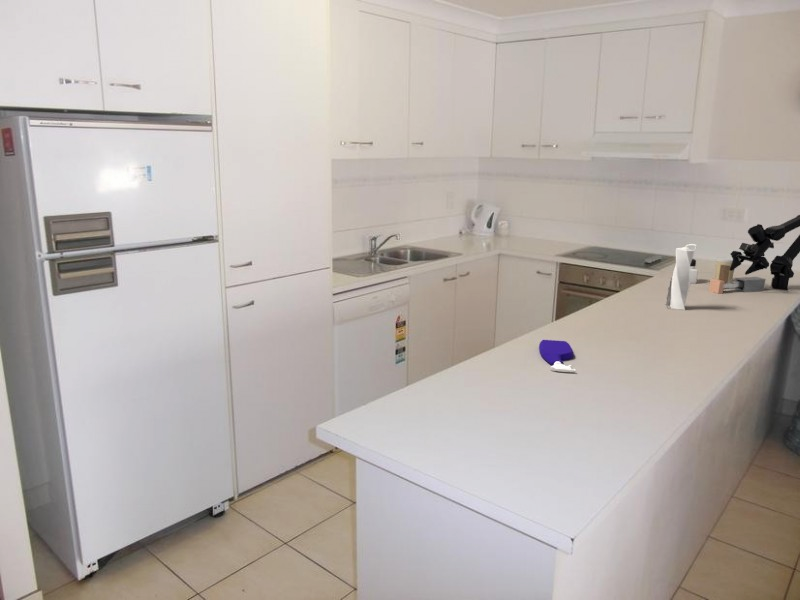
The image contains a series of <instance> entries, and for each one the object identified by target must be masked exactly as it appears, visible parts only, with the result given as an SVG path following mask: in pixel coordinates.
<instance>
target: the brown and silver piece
mask: <svg viewBox="0 0 800 600" xmlns="http://www.w3.org/2000/svg"><path fill="white" fill-rule="evenodd" d="M729 270H730V266H729V265H721V266H720V273H719V280H722V281H725V282H724V288H723V290H735V289H739V288H744V282H745V281H736V280H735V281H733V280H732V281H731V282H728V276H729Z"/></svg>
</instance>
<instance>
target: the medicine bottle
mask: <svg viewBox="0 0 800 600" xmlns="http://www.w3.org/2000/svg"><path fill="white" fill-rule="evenodd" d="M696 265H697V260H696V259H695V258H692V261H691V264H690V270H691V279H690V285H691V284H692V285H693V284H697V281H698V273H699V269H697V268H696Z"/></svg>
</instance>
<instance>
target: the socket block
mask: <svg viewBox="0 0 800 600" xmlns="http://www.w3.org/2000/svg"><path fill="white" fill-rule="evenodd" d="M724 282H725V281H722V280H718V279H715V278H710V282H709V289H708V291H709V292H712V293H715V294H719V295H720V294H724V289H723V288H724Z"/></svg>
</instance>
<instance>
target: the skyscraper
mask: <svg viewBox="0 0 800 600" xmlns="http://www.w3.org/2000/svg"><path fill="white" fill-rule="evenodd" d="M689 246H695V247H694V249H690V247H689ZM697 246H698V245H697V244H694V243H690V244H689V243H688V244H686V245H685V246H684V247H683V246H682V247H677V248H675V266H674V270H673V272H672V277H670V281H669V286H668V289H667V295H666V301H665V308H666V309H667V310H676V309H678V311H686V307H685V304H686V301H687V298H688V295H689V291H690V286H691V283H690V279H691V270H690V264H691V261H692V259H694V258H693V257H694V256H695V255H694V254H695V251H696V248H697Z"/></svg>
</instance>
